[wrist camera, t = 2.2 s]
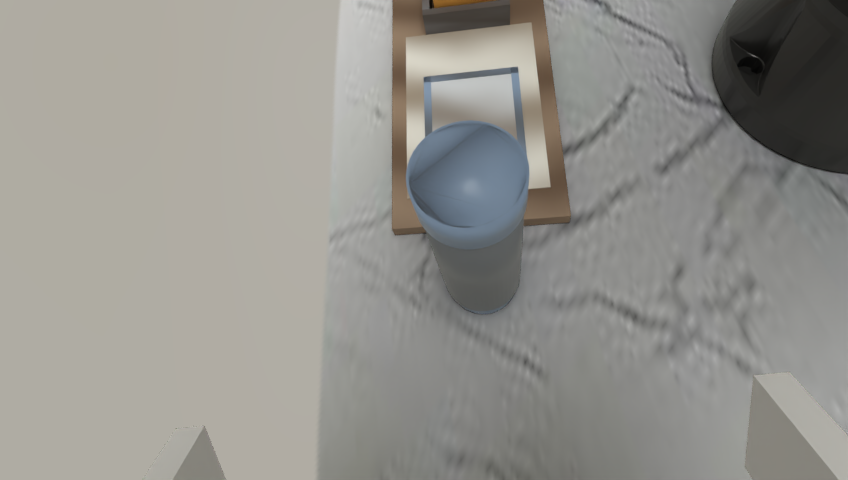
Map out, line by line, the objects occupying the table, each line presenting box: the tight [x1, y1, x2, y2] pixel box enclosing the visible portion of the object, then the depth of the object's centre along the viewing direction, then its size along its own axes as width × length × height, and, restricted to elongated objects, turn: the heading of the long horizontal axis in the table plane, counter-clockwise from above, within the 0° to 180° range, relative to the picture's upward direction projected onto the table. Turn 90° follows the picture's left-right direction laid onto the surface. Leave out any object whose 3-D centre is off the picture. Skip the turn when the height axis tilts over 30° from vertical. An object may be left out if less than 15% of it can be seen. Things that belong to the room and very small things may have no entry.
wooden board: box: [392, 0, 571, 235], centre depth 37 cm, size 22×11×3 cm, turn 1°
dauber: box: [406, 120, 529, 314], centre depth 27 cm, size 5×5×14 cm
